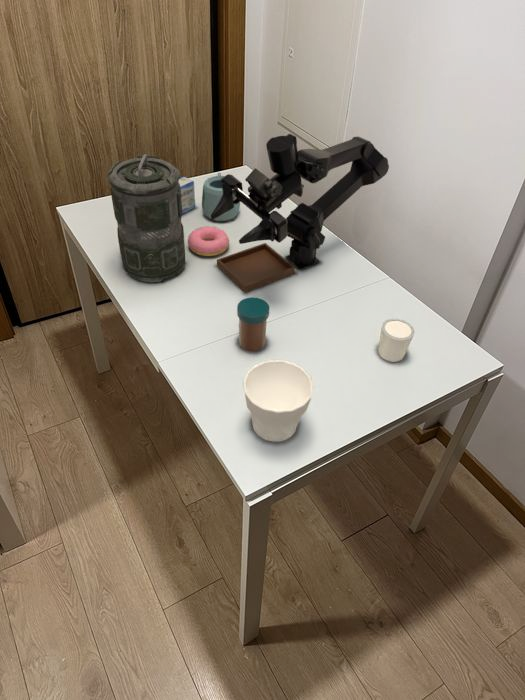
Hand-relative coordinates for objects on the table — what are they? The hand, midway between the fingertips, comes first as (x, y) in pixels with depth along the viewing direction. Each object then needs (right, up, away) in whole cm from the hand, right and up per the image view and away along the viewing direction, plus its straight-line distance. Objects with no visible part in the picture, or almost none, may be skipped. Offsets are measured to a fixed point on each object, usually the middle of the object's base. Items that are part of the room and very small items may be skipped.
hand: (225, 229), depth 114 cm
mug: (-4, +15, +43) cm, 46 cm away
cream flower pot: (+10, -40, -13) cm, 43 cm away
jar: (+6, -24, +3) cm, 25 cm away
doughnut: (-6, +2, +29) cm, 30 cm away
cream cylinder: (+36, -27, +2) cm, 45 cm away
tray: (+6, -5, +22) cm, 24 cm away
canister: (-20, -4, +22) cm, 30 cm away
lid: (+6, -17, -4) cm, 19 cm away
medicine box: (-16, +15, +42) cm, 47 cm away
